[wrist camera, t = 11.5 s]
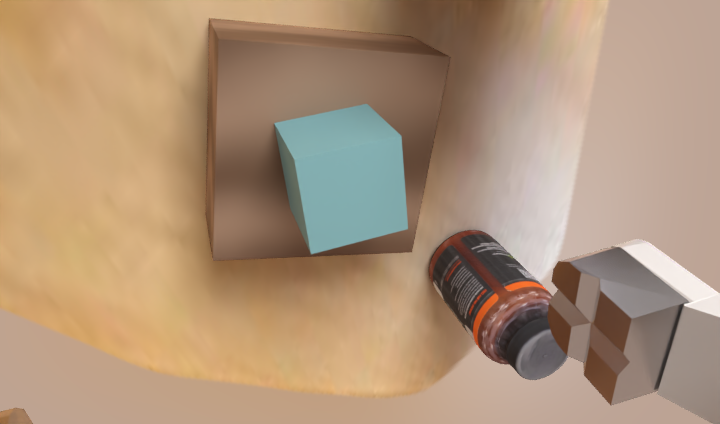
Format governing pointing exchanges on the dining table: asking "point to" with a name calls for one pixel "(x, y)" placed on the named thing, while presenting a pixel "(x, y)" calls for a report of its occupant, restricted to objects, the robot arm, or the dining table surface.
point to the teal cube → (343, 176)
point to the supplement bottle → (497, 303)
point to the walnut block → (300, 99)
